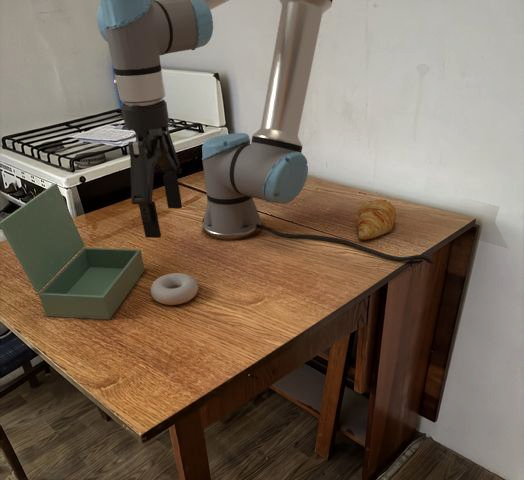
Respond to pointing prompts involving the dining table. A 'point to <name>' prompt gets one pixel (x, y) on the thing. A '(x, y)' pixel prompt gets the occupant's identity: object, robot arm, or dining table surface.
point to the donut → (174, 288)
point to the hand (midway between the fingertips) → (164, 221)
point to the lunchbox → (93, 283)
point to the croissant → (375, 219)
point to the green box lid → (43, 236)
